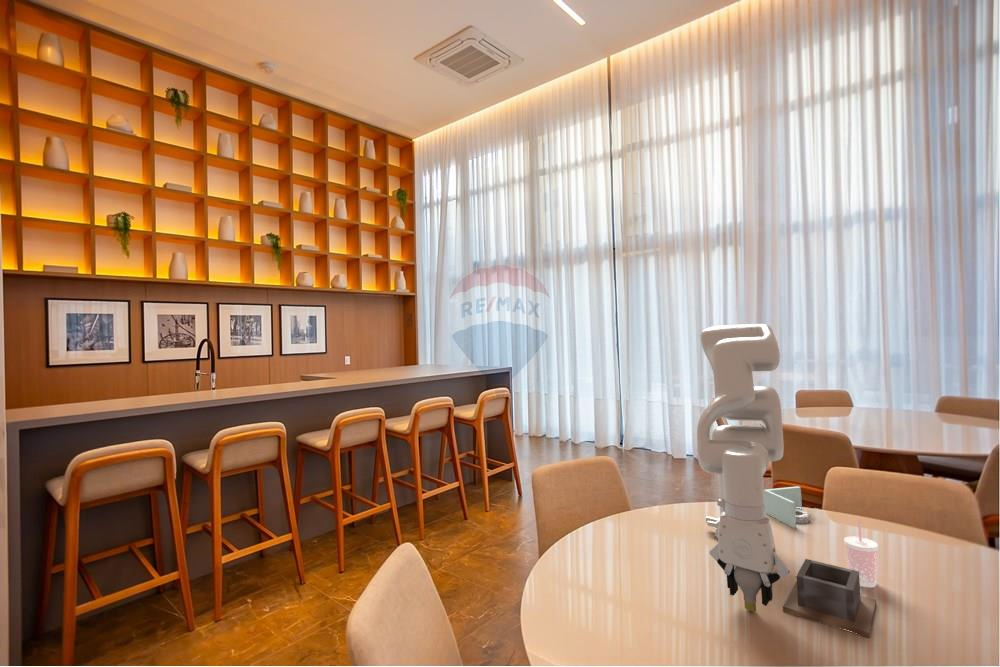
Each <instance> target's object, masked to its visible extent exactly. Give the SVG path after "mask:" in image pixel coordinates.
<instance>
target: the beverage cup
mask: <svg viewBox="0 0 1000 667" xmlns="http://www.w3.org/2000/svg"><path fill="white" fill-rule="evenodd" d="M857 529H858V536H846V537H844V538H843V541H844V542H843V543H844V545H845V548H846V549H845V551H846V556H847V565H848V569H851V570H855V571H859V580H860V587H863V588H875V587H876V586H877V557H878V556H877V551H878V549H879V545H878V542H876V541H874V540H872V539H869V538H866V537H862V524H861V519H859V518H858V519H857Z"/></svg>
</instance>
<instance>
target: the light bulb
mask: <svg viewBox="0 0 1000 667" xmlns="http://www.w3.org/2000/svg"><path fill="white" fill-rule="evenodd" d="M734 569H735V570H734V577H735V580H736V582H737V584H738V588H739V589H740V590H741V592H742V593H743V601H744V609H745V610H746V611H748V612H750V613H752V612H756V610H757V595H758V593H759V591H760V590H761V585H762V584H763V580H762V578H761V575H760V573H759V572H755V571H751V570H747V569H744V568H740V567H736V566H735V568H734Z"/></svg>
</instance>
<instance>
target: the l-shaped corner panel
mask: <svg viewBox="0 0 1000 667" xmlns="http://www.w3.org/2000/svg"><path fill="white" fill-rule="evenodd" d="M801 489H802V487H801V486H788V487H778V488H768V489H764V503H765V515H767V516H769V515H770V517H771V516H772V518H773V517H774V519H775V518H776V519H775V520H777V521H780V522H781V523H783V524H785V525H787V526H789V527H791V528H793V529H796V528H797V523H798V524H807V523H809V522H810V514H809V512H807V511H804V510H803V505H802V503H803V502H802V490H801ZM796 507H801V508H802V509H800V508H796Z"/></svg>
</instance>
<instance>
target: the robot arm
mask: <svg viewBox="0 0 1000 667" xmlns="http://www.w3.org/2000/svg"><path fill="white" fill-rule="evenodd" d="M700 343H701V347H702V349H703V352H704V355H705V356H706V358H707V360H708V362H709V365H710V367H711V369H712V374H713V386H714V390H713V391H714V398H713V400H712V401H711V402H710V403H709V404H708V405H707V406H706V408H705V409H704V411H702V413H701V415H700V417H699V419H698V423H697V428H696V439H697V440H696V442H697V444H696V445H697V447H696V448H697V460H698V463H699V467H700V468H701V469H702V470H703V472H706V473H708V474H714V475H717V484H718V499H717V503H716V504H717V506H718V507H719V517H717V518H716V517H713V516H709V515H707V516H706V517H705V523H706V524H707V526H708V527H714V528H716V530H715V531H714V532H715V534H714V535H715V538H716V539H717V541H718V542H717V544H716V545H715V546H713V547H712V548H711V550H709V552H708V553H709V555H710V556H711V557H712V558H713V559H714V561H716V563H717V564H718V565H719V566H720V567H721V569H722V570H723V573H724V574H725V575H726V583H727V584H726V585H727V588H728V589H729V595H730V596H732V597H733V596H735V595H736V594H737V592H738V591H739V585H738V584H737V582H736V580H735V577H734V570H735V567H740V568H744V569H747V570H751V571H755V572H759V573H760V575H761V578H762V580H763V584H762V585H761V589H760V590H761V592H760V593H761V604H762V605H763V606H765V607H767V606H768V605H769V603H770V602H771V601H773V595H774V594H773V584H775V583H776V582H778V581H779V580H780V579H782V578H784V577H787V576H788V575H789V574H790V572H791V570H790V569H789V567H788V566H787V565H786V563H785V562H784V561H783V560H782V559H781V557H780V556H778V554H777V550H776V544H775V538H774V534H773V533H774V532H773V529H772V525H771V524H772V523H771V521H770V519H769V517H768V516H766V513H765V503H764V490H765V488H764V485H765V484H764V475H765V474H766V471H767V470H769V467H770V462H777V461H780V460H781V459H782V458H783V456H784V454H785V453H784V450H785V445H784V429H783V418H782V414H783V413H782V404H781V399H780V396H779V393H778V391H777V390H776V389H775V388H774V387H771V386H767V385H754V377H753V376H754V375H753V374H754V373H753V372H772V371H776V370H777V368H778V367H779V365H780V358H781V356H780V355H781V354H780V349H779V345H778V340H777V339H776V336H775V333H774V331H773V329H772V327H771V326H770V325H769V324H765V323H751V324H748V323H747V324H729V325H728V324H727V325H716V326H710V327H708V328H707V327H706V329H703V330H702V331H701V334H700ZM718 419H723V420H727V421H743V422H744V421H748V422H752V421H753V422H754V421H755V422H760V423H762V424H763V425H759V424H757V425H755V424H754V425H753V424H751V425H750V424H749V425H748V424H724V425H719V426H717V427H716V428H714V429H713V431H712V434H711V436H710V433H711V428H712V426H713V424H714V423H715V422H716V421H717V420H718ZM710 437H711V438H710ZM774 566H775V567H776V568H777V570H775V571H774V572H772V571H773V570H774Z"/></svg>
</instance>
